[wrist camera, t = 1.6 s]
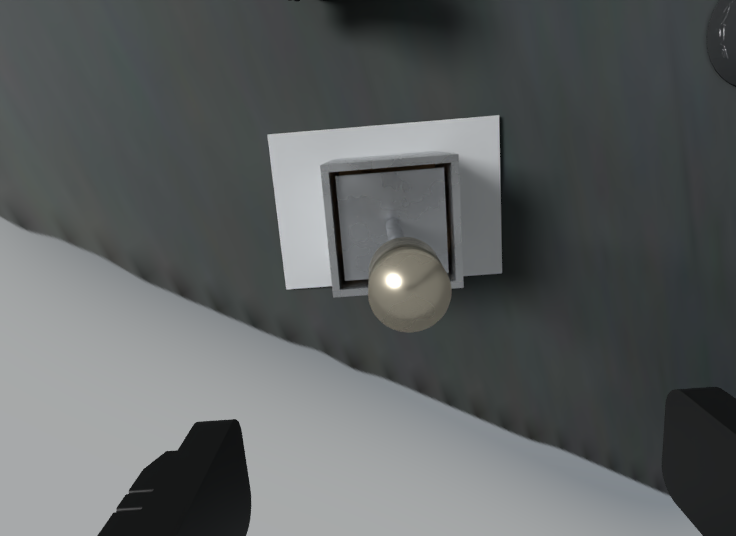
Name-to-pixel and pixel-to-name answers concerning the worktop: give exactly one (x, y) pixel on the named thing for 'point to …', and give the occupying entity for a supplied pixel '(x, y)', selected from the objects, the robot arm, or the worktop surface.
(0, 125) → the worktop surface
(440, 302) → the plunger
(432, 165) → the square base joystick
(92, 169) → the worktop surface
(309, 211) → the tray
